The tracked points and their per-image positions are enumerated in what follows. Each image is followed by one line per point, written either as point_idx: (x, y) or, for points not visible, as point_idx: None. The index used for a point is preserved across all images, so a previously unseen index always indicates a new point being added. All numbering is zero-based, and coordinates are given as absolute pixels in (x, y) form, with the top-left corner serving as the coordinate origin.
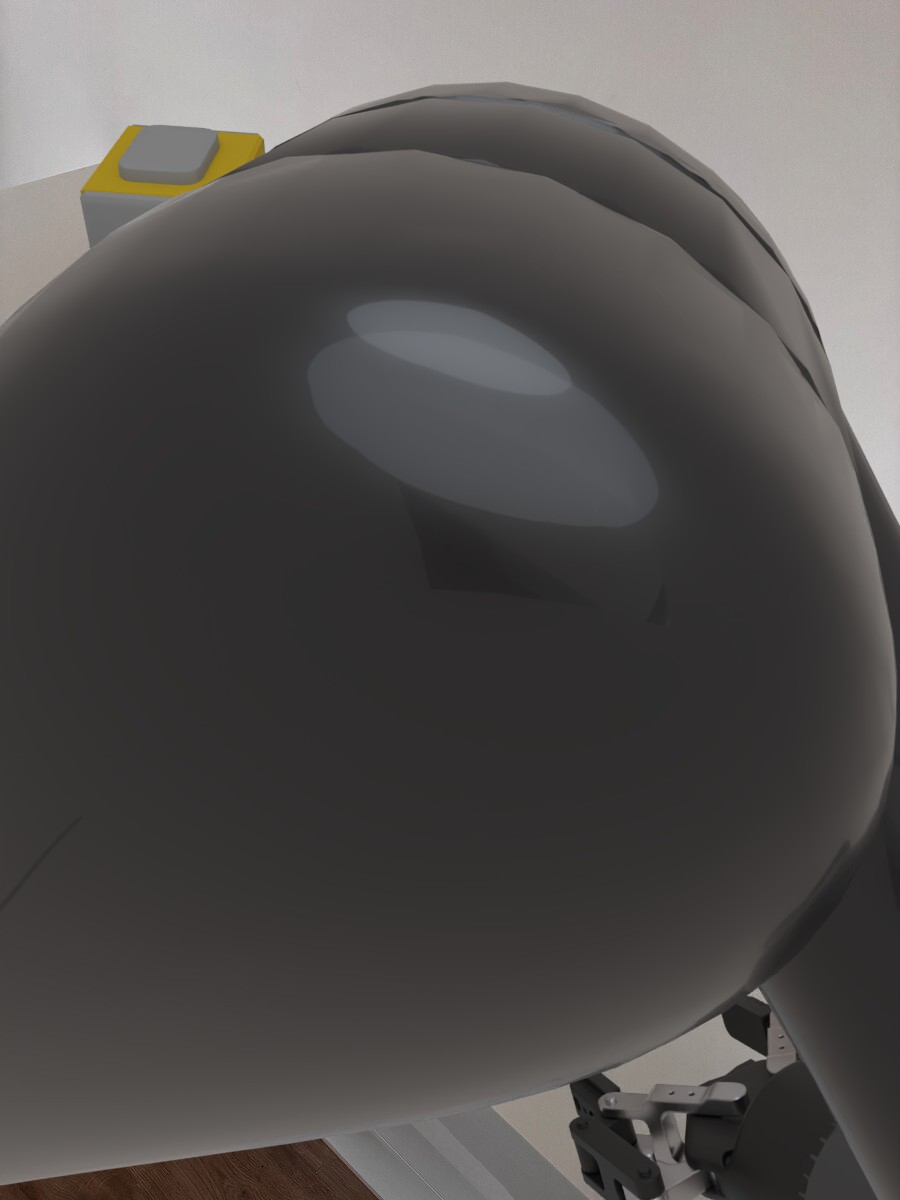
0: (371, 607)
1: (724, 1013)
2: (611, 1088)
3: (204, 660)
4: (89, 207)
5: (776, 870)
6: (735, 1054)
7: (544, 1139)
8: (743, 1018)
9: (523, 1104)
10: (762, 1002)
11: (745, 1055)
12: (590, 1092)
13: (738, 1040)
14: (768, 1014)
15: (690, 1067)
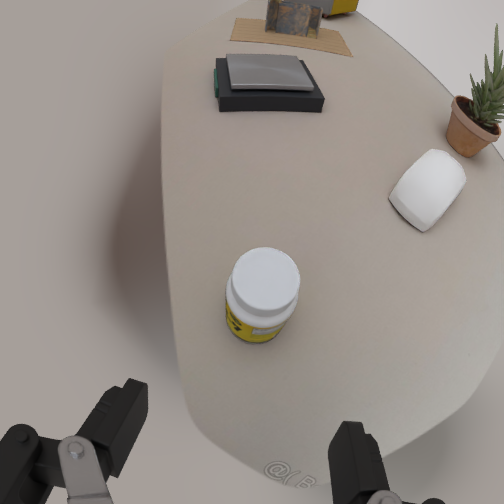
0: None
1: (338, 436)
2: (102, 438)
3: None
4: None
5: None
6: (345, 418)
7: (187, 384)
8: (346, 464)
9: (191, 358)
10: (380, 458)
11: None
12: (102, 416)
13: (329, 464)
14: (371, 490)
15: (312, 409)
